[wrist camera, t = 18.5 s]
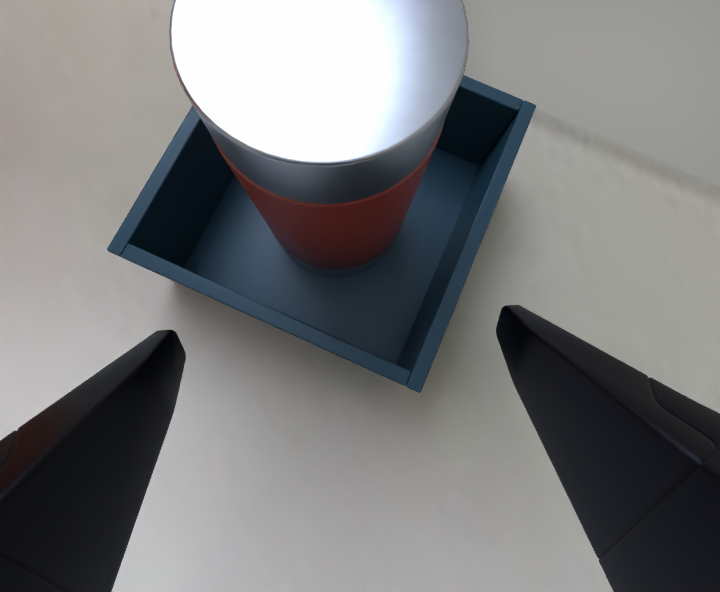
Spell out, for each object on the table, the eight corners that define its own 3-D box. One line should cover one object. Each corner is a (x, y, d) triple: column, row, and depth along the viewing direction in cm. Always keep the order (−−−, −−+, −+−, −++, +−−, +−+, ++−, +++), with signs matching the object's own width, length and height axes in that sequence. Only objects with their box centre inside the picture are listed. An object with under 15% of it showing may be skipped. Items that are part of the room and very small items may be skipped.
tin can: (408, 172, 19) (490, -67, 8) (387, 289, 18) (448, 195, 7) (290, 149, 19) (210, -124, 8) (261, 264, 18) (124, 132, 7)
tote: (489, 166, 20) (536, 105, 15) (400, 380, 18) (420, 393, 13) (282, 77, 20) (261, -11, 15) (171, 277, 18) (105, 249, 13)
